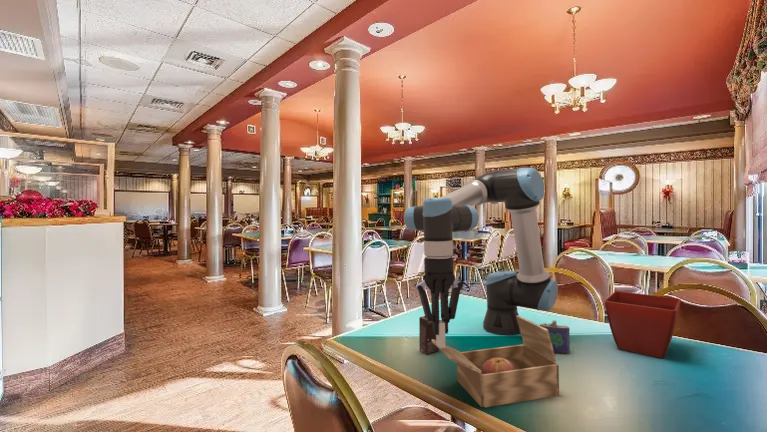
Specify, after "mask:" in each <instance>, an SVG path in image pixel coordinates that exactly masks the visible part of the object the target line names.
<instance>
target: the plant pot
mask: <svg viewBox="0 0 767 432" xmlns="http://www.w3.org/2000/svg"><path fill="white" fill-rule="evenodd" d="M681 301H682V300H681V298H678V297H670V296H660V295H652V294H643V293H637V292H628V291H627V292H626V291H621V290H620V291H619V290H617V291H614V292H613V293H611V295H609V296H608V297H607V298H606V299H604V306H605V312H606V316H607V321H608V324H609V329H610V332H611V334H612V336H613V340H614V343H615V345H616V348H617V349H619V350H623V351H628V352H632V353H635V354H642V355H646V356H651V357H655V358H659V359H664V358H665V357H666V355H667V353H668V350H669V347H670V344H671V342H672V339H673V335H674V332H675V329H676V326H677V322H678V317H679V312H680V307H681Z"/></svg>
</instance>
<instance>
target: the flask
mask: <svg viewBox="0 0 767 432" xmlns="http://www.w3.org/2000/svg"><path fill="white" fill-rule="evenodd" d="M557 322H558V321H557V320H552V323H546V322H544V323H541V324H540V323H539V326H542V327H544V328H546V329H548V332H549V335H550V339H551V343H552V347H553V350H554V354H557V355H559V354H560V355H570V353H571V346H570V345H571V343H570V340H571V339H570V327H569V326H568V325H558V324H557Z"/></svg>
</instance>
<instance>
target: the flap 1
mask: <svg viewBox="0 0 767 432" xmlns="http://www.w3.org/2000/svg"><path fill="white" fill-rule="evenodd" d="M432 342H433V343H434V344H435V345H436V340H434V339H432ZM436 346H437V345H436ZM445 346H446V348H439V347H438V346H437V347H438V348H439V351H440V352H441V353H443V354H444V356H445V357H446V358H448V360H450V361H451V362H454V363H455V364H456V363H458V364H461V365H463V366H465V367H467V368H470V369H472V370H474V371H476V372H478V373H481V370H480V369H478V368H477V367H476V366H475V365H474V364H473V363H472V362H471V361H469V360H468V359H467V358H466V357H465V356H464V355H463V354H462V353H460V352H461V351H459V350H457V349H455V348H453V347H451V346H449V345H446V344H445Z"/></svg>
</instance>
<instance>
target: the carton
mask: <svg viewBox="0 0 767 432" xmlns="http://www.w3.org/2000/svg"><path fill="white" fill-rule="evenodd" d="M459 352H460V353H462V354H463V355H464V356H465V357H466V358H467V359H468V360H469V361H471V362H472V363H473V364H474V365H475V366H476V367H477V368H478V369H480V370H481V373H478V372H476V371H474V370H472V369H470V368H467V367H465V366H463V365H461V364H458V363H456V362H455V364H456V381H457V382H458V384H459V385H461V387H463V389H464V390H465V391H466V392H467V393H468V394H469V395H470V396H471V397H472V399H473V400H474V401H475V402H476V403H477V404H478V405H479V406H480V407H481V408H482V407H485V408H490V407H495V406H502V405H507V404H515V403H519V402H526V401H533V400H540V399H545V398H551V397H557V396H560V375H559V374H560V369H559V367H560V366H559V365H560V364H558V363H556V362H553V361H551V360H550V359H548V358H546V357H545V356H543V355H541V354H540V353H538V352H536V351H535V350H533V349H531V348H530V347H528V346H526V345H524V343H523V344H517V345H516V344H515V345H507V346H500V347H492V348H484V349H483V348H482V349H475V350H468V351H459ZM492 358H503V359H506V360H508V361H510V362H511V363H512V364H513V366H514V368H515V370H511V371H504V372H497V373H490V374H482V366H483V364H484V363H485V362H486V361H487V360H489V359H492Z"/></svg>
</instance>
